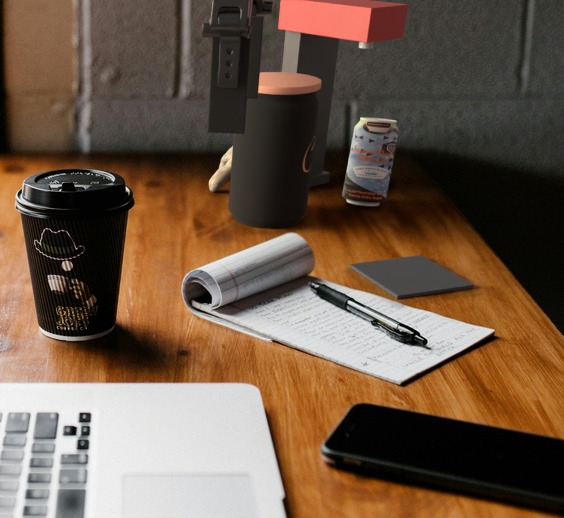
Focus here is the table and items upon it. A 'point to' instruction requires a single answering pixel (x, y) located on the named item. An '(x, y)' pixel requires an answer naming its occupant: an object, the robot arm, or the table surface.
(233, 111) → the robot arm
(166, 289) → the table surface
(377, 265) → the mat
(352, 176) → the beverage can
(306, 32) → the coffee maker
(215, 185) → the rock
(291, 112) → the coffee jar
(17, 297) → the table surface
